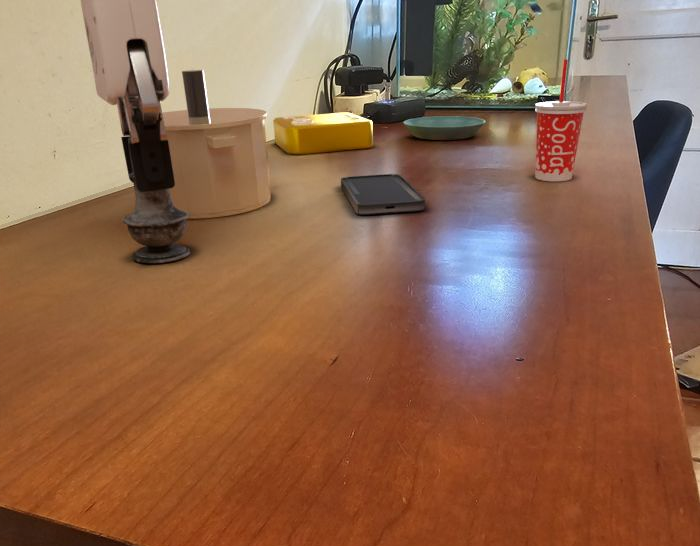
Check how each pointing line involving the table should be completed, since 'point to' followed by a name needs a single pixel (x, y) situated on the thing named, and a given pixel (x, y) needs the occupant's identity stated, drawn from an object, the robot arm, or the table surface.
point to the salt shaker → (156, 226)
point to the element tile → (323, 133)
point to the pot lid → (206, 109)
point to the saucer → (444, 127)
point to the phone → (381, 194)
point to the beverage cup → (557, 136)
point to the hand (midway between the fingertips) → (151, 182)
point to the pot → (219, 170)
